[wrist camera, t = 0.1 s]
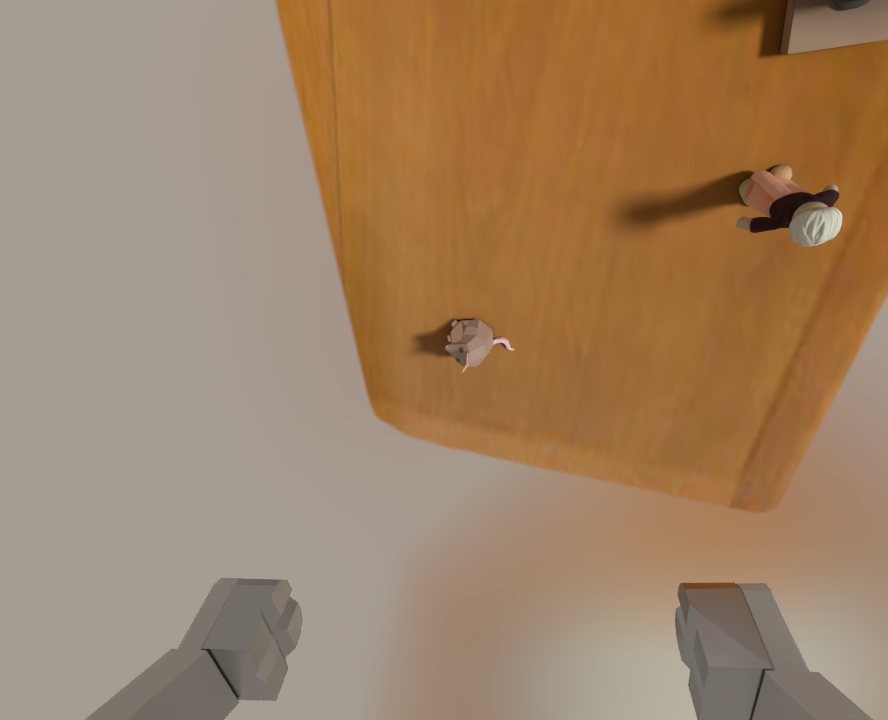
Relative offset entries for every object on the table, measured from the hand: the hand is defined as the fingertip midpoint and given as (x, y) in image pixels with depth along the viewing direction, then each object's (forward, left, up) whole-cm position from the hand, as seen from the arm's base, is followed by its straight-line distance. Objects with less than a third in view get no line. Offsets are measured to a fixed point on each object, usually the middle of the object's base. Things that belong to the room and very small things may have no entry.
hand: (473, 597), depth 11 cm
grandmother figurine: (+5, +23, -47) cm, 53 cm away
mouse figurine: (+20, -5, -48) cm, 52 cm away
